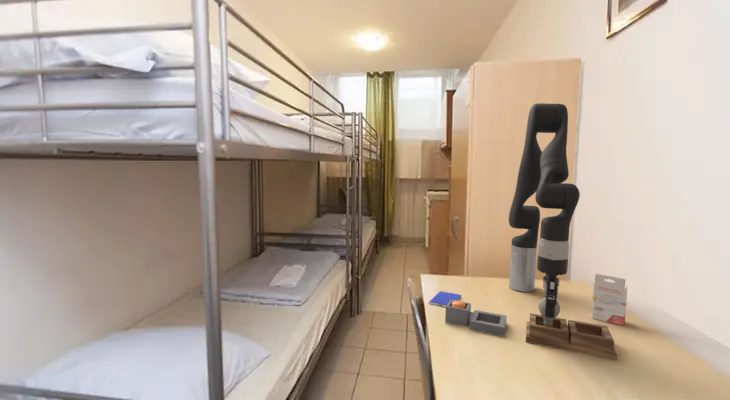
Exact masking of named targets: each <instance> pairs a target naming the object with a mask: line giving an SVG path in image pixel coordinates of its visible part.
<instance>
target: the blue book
mask: <svg viewBox="0 0 730 400" xmlns="http://www.w3.org/2000/svg"><path fill="white" fill-rule="evenodd" d="M461 298H462V294H459V293H454V292H448V291H442V290H440V291H438V292H437V293H436V295H434V296H433V297H432V298H431V299H430V300H429V301H428V304H429V305H433V306H439V307H443V308H446V306H447V304H448V303H449V301H450V300H455V301H461Z"/></svg>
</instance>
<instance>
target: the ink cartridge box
mask: <svg viewBox="0 0 730 400" xmlns="http://www.w3.org/2000/svg"><path fill="white" fill-rule="evenodd" d="M607 280H611V281H607ZM612 281H614V282H612ZM592 287H593V290H592V305H591V318H592V319H594V320H597V321H598V320H599V321H601V322H606V323H609V324H614V325H618V326H622V327H623V326H624V323H625V321H626V315H627V313H626V312H627V311H626V309H627V299H628V285H626V279H625V278H622V277H616V276H610V275H606V274H605V275H604V274H599V273H596V274H594V282H593V286H592Z"/></svg>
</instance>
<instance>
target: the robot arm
mask: <svg viewBox="0 0 730 400" xmlns="http://www.w3.org/2000/svg"><path fill="white" fill-rule="evenodd" d="M526 124H527V125H526V131H525V138H524V139H525V140H524V145H523V150H522V156H521V159H520V165H519V168H518V174H517V178H516V184H515V185H516V186H515V191H514V196H513V197H512V202H511V206H510V209H509V214H508V224H509V226H510V227H511V228H513V229H518V230H521V229H522V230H527V231H526V232H524V233H523V234H521V235H517V236H513V237H512V238H511V247H510V248H511V250H510V263H509V264H510V265H509V266H510V267H509V279H508V281H509V283H508V284H509V285H508V287H509V289H511V290H514V291H517V292H525V293H531V292H534V291H535V285H536V284H535V283H536V281H535V280H536V269H537V271H538V272H540V273H543V274H545V275H543V276H542V282H543V283H542V286H543V295H544V298H546V300H545V302H546V308H545V316H546V317H549V318H554V313H555V305H556V304H557V302H558V300H557V299H558V298H557V297H559V287H560V278H559V277H557V276H565V275H567V273H568V266H569V254H570V253H569V250H570V245H569V238H570V227H571V222H572V217H573V216H574V213H575V210H576V208H577V206H578V203H579V200H580V195H581V193H580V189H579V188H578V186H577V185H576V184H574V183H567V182H566V183H565V181H566V180H567V179H568V178H569V165H568V158H567V144H568V131H569V130H568V129H569V128H568V126H569V113H568V107H567V106H566V104H562V103H546V102H545V103H542V102H541V103H534V104H532V105H531V107H530V110H529V112H528V117H527V123H526ZM538 133H543V134H555V135H554V137H553V138H552V139H551V141H550V142H549V143H548V144H547V145H546V147H544V149H543V150H542V149H541V147H540V145H539V142H538V139H537V135H538ZM534 194H535V198H534V199H535V202H536V204H537V205H538V206H539V207H538V206H536V205H525V204H526V202H527V200H529V198H531V197H532V196H534ZM540 208H542V209H550V210H551V209H554V210H555V209H556V210H561V211H560V212H559V214H557V215H554V216H553V215H552V216H547V217H543V218H542V219H541V212H540V211H541V210H540ZM539 230H540V232H539ZM539 234H540V235H539ZM538 240H539V241H538ZM548 297H550V298H553V299H554V300H551V299H548Z"/></svg>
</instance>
